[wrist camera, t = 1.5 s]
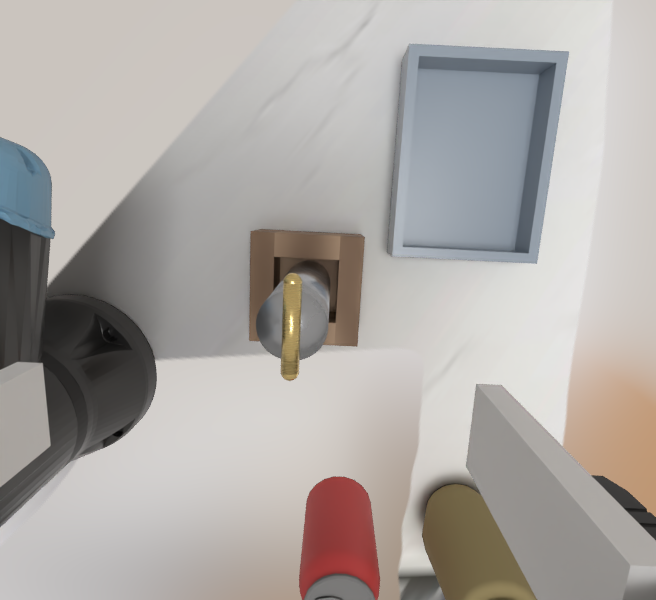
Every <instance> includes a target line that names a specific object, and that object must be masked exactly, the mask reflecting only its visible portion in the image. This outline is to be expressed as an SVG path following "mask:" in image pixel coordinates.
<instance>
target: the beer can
mask: <svg viewBox="0 0 656 600" xmlns="http://www.w3.org/2000/svg"><path fill="white" fill-rule="evenodd" d="M379 586H380V576H379V568H378V559H377V550H376V543H375V535H374V526H373V519H372V511H371V502H370V499H369V496H368V493H367V492H366V491H365V489H364V488H363V487H362V485H360V484H359V483H357V482H356V481H354V480H352V479H349V478H346V477H331V478H327V479H324V480H323V481H321V482H319V483H318V484H316V485H315V487H314V488H313V489H312V490H311V491H310V493H309V496H308V498H307V503H306V514H305V524H304V534H303V544H302V554H301V564H300V575H299V587H300V594H301V597H302V600H377V599H378V596H379Z"/></svg>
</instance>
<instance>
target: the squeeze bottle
mask: <svg viewBox="0 0 656 600" xmlns="http://www.w3.org/2000/svg"><path fill="white" fill-rule="evenodd" d="M422 537H423V542H424V546H425V550H426V552H427V555H428V557H429V560H430V562H431V564H432V567H433V569H434V572H435V574H436V577H437V579H438V582H439V584H440V587H441V589H442V592H443V594H444V596H445V599H446V600H537V599H536V597H535V595H534V593H533V591H532V589H531V587H530V585H529V584H528V582H527V580H526V578H525V576H524V574H523V572H522V570H521V568H520V567H519V565H518V563H517V561H516V559H515V557H514V555H513V553H512V552H511V550H510V548H509V546H508V544H507V542H506V540H505V538H504V536H503V535H502V533H501V531H500V529H499V527H498V525H497V523H496V521H495V520H494V518H493V516H492V514H491V512H490V510H489V508H488V506H487V504H486V503H485V501H484V499H483V497H482V496H481V495H480V494H479V493H478V492H476V491H475V490H473V489H471V488H470V487H468V486H466V485H459V484H452V485H447V486H443V487H442V488H440V489H438V490H437V491H435V492H434V493H433V495H432V496H431V497H430V499H429V500H428V503H427V507H426V513H425V519H424V526H423V533H422Z"/></svg>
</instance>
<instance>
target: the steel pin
mask: <svg viewBox="0 0 656 600" xmlns="http://www.w3.org/2000/svg"><path fill="white" fill-rule="evenodd" d="M329 303H330V276H329V274H328V272H327V270H326V269H325V268H324V267H323V266H322V265H321V264H319V263H317V262H315V261H302V262H299V263H297V264H295V265H294V266H293V267H292V268H291V269H290V271H289V272H288V273H287V274H286V276H285V277H284V278H283V279H282V281H281V282H280V283H279V284H278V286H277V287H276V288H275V289H274V291H273V292H272V293H271V295H270V296H269V297H268V298H267V300H266V301H265V302H264V303H263V305H262V306H261V308H260V310H259V312H258V314H257V318H256V331H257V335H258V338H259V340H260V342H261V344H262V345H263V346H264V348H265V349H266V350H267V351H268V352H270V353H271V354H272V355H274V356H276V357H278V358H281V375H282V377H283V378H284V379H285V380H288V381H291V380H294V379H295V378H297V376H298V374H299V360H301V359H305V358H307V357H310V356H311V355H313V354H314V353H316V352H317V351H318V350H319V349H320V348H321V346H322V345H323V343H324V342H325V339H326V337H327V333H328V323H329Z"/></svg>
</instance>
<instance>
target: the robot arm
mask: <svg viewBox="0 0 656 600" xmlns="http://www.w3.org/2000/svg"><path fill="white" fill-rule="evenodd" d="M51 192H52V183H51V177H50V173H49V171H48V169H47V167H46V166H45V164H44V163H43V161H42V160H41V159H40V158H39V157H38V156H37V155H36V154H34V153H33V152H31V151H30V150H28V149H27V148H25V147H23V146H21V145H19V144H16V143H14V142H11V141H9V140H6V139H3V138H1V137H0V527H1V526H2V525H3V524H4V523H5V522H6V521H7V520H8V519H9V518H11V517H12V516H13V515H14V514H15V513H16V512H17V511H18V510H19V509H20V508H21V507H22V506H23V505H24V504H25V503H26V502H27V501H29V500H30V499H31V498H32V497H33V496H34V495H35V494H36V493H37V492H38V491H39V490H40V489H41V488H42V487H43V486H45V485H46V484H47V483H48V482H49V481H50V480H51V479H52V478H53V477H54V476H55V475H56V474H57V473H58V472H59V471H60V470H61V469H62V468H63V467H64V466H66V465H67V464H68V463H69V462H70V461H73V460H75V459H78V458H80V457H82V456H85V455H87V454H90V453H92V452H95V451H97V450H100V449H102V448H105V447H107V446H109V445H111V444H113V443H115V442H116V441H118V440H119V439H121V438H122V437H123V436H125V435H126V434H127V433H128V432H129V431H130V430H131V429H132V428H133V427H134V426H135V425H136V424H137V423H138V422H139V421H140V420H141V419H142V417H143V416H144V415H145V413H146V412H147V410H148V409H149V407H150V405H151V402H152V400H153V397H154V393H155V389H156V381H157V376H156V365H155V360H154V357H153V354H152V351H151V348H150V346H149V344H148V342H147V340H146V338H145V337H144V335H143V334H142V332H141V331H140V330H139V328H138V327H137V326H136V325H135V324H134V323H133V322H132V321H131V320H130V319H129V318H128V317H127V316H126V315H125V314H123V313H122V312H121V311H119V310H118V309H116V308H115V307H113V306H111V305H109V304H107V303H105V302H103V301H100V300H98V299H94V298H91V297H87V296H81V295H58V296H53V297H49V298H46V292H47V278H48V265H49V251H50V238H51V239H53V238H54V236H55V231H54V230H53V229H52V228H51V196H52V195H51V194H52V193H51ZM466 467H467V469H468V471H469V472H470V474H471V476H472V478H473V480H474V482H475V484H476V486H477V488H478V489H479V491H480V493H481V495H482V497H483V499H484V501H485V503H486V504H487V506H488V508H489V510H490V512H491V514H492V516H493V518H494V520H495V521H496V523H497V525H498V527H499V529H500V531H501V533H502V535H503V536H504V538H505V540H506V542H507V544H508V546H509V548H510V550H511V552H512V553H513V555H514V557H515V559H516V561H517V563H518V565H519V567H520V568H521V570H522V572H523V574H524V576H525V578H526V580H527V582H528V584H529V585H530V587H531V589H532V591H533V593H534V595H535V597H536V599H537V600H656V517H655V516H654V515H652V514H651V513H648V512H647V509H646V508H645V507H644V506H643V505H642V504H640V502H638V500H636V499H635V498H634V497H633V496H632V495H631V494H630V493H629V492H628V491H626V490H625V489H623V488H622V487H620V486H618V485H617V484H615V483H613V482H612V481H610V480H608V479H607V478H605V477H603V476H592V475H590V474H589V473H588V472H587V471H586V470H585V469H584V468H583V467H582V466H581V465H580V464H579V463H578V462H577V461H576V460H575V459H574V458H573V457H572V456H571V455H570V454H569V453H568V452H567V451H566V450H565V449H564V448H563V447H562V446H561V445H560V443H559V442H558V441H557V440H556V439H555V438H554V437H553V436H552V435H551V434H550V433H549V432H548V431H547V430H546V429H545V428H544V427H543V426H542V425H541V424H540V423H539V422H538V421H537V420H536V419H535V418H534V417H533V416H532V415H531V414H530V413H529V412H528V411H527V410H526V409H525V408H524V407H523V406H522V405H521V404H520V403H519V402H518V401H517V400H516V399H515V398H514V397H513V396H512V395H511V394H510V393H509V392H508V391H507V390H506V389H505V388H504V387H503V386H502V385H487V384H476V391H475V399H474V407H473V415H472V422H471V430H470V438H469V446H468V454H467V462H466Z"/></svg>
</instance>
